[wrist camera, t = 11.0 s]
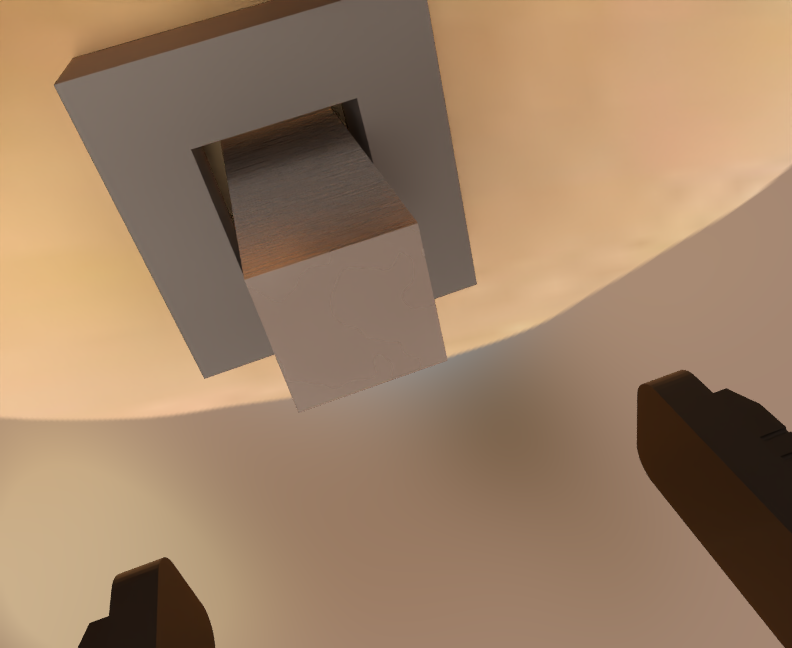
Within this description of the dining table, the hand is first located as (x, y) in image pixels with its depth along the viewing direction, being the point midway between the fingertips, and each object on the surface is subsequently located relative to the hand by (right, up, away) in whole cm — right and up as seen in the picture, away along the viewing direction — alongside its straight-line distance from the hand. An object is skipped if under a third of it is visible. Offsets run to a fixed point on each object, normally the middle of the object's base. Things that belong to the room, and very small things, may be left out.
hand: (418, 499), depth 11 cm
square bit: (-5, +9, +14) cm, 18 cm away
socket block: (-5, +9, +14) cm, 18 cm away
